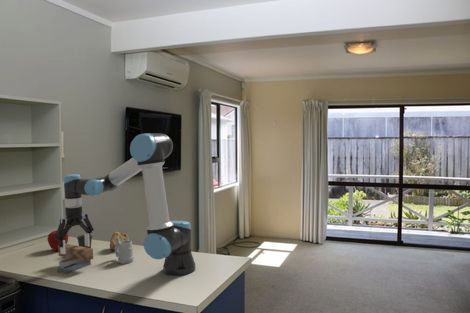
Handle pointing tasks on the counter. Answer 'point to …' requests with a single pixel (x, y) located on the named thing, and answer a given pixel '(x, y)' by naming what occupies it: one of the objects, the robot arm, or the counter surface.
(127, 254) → the mug
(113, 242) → the rock
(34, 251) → the counter surface
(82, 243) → the coffee cup
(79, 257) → the walnut bar
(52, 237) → the apple
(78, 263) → the ridge
